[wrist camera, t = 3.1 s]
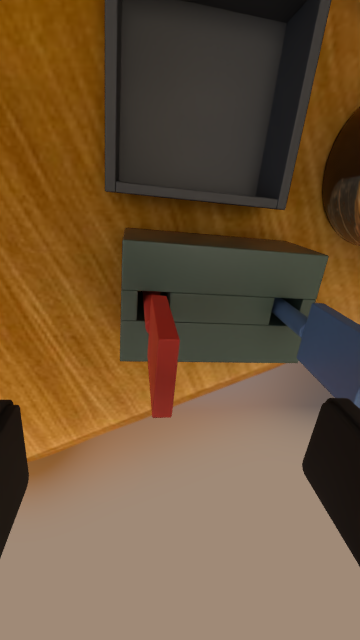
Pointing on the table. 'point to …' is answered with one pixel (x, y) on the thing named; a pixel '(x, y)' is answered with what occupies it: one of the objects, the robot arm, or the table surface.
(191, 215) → the table surface
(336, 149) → the jar
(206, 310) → the caddy
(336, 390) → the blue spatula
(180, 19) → the bin
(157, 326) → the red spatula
